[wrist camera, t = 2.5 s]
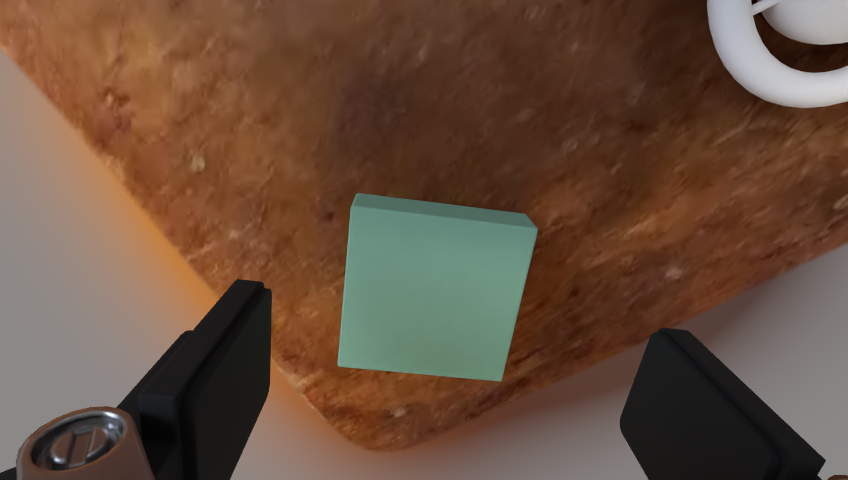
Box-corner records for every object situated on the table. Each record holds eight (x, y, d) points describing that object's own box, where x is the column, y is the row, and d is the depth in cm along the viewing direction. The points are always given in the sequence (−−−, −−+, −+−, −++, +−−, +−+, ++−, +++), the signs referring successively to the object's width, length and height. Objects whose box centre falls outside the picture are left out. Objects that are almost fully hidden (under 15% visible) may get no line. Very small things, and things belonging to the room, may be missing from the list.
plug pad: (351, 305, 18) (336, 367, 14) (363, 174, 16) (350, 205, 12) (482, 319, 18) (502, 382, 15) (509, 193, 16) (539, 228, 13)
